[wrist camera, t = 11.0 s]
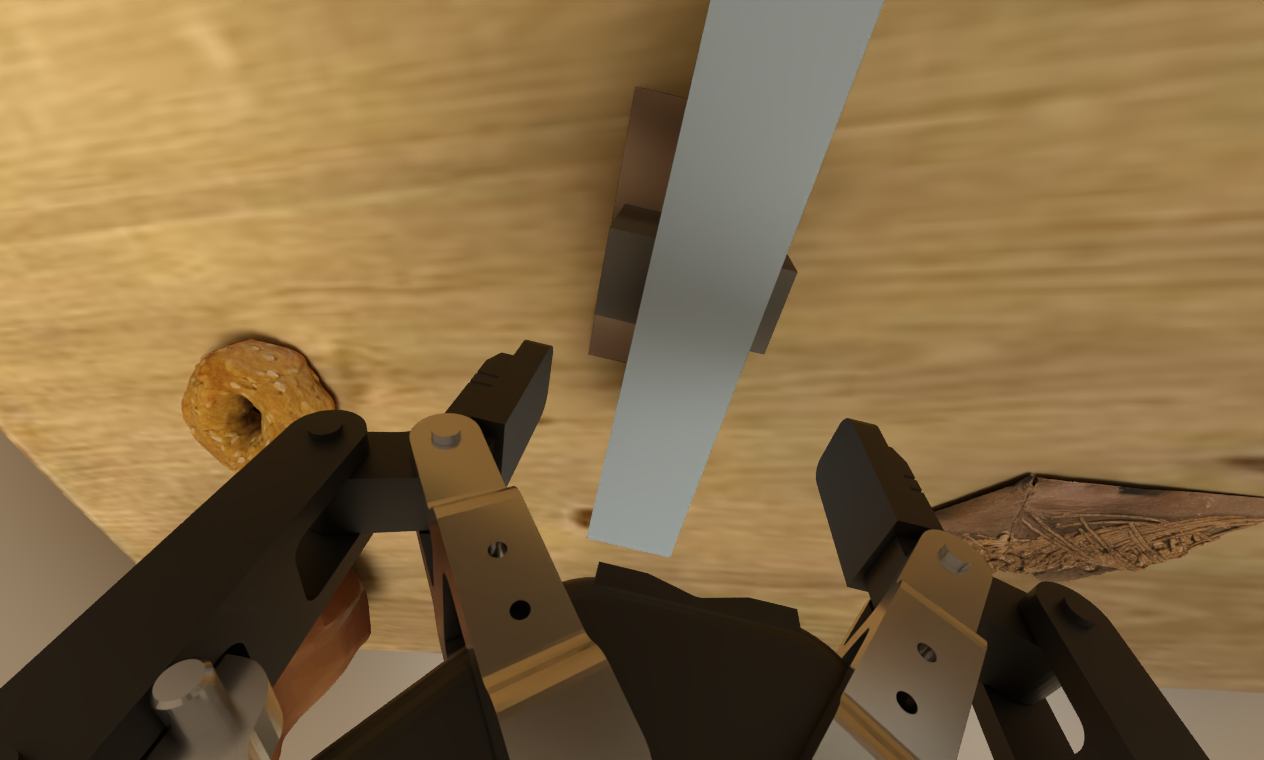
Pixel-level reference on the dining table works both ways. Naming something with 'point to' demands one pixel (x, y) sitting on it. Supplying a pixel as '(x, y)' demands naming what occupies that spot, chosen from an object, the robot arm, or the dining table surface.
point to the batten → (722, 244)
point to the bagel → (249, 398)
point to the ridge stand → (650, 228)
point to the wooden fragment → (1092, 526)
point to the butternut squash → (323, 653)
